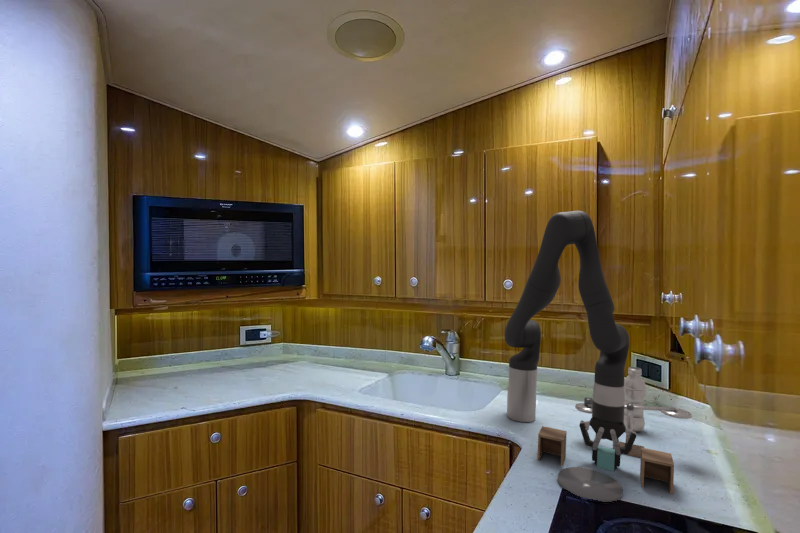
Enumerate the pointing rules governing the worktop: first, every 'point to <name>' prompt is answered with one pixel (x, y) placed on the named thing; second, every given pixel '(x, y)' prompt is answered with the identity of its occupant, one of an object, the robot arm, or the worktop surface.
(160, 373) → the worktop surface
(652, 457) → the empty cover
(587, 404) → the balance
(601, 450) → the teal block
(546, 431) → the hiding cover
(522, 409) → the robot arm
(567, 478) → the slate dish
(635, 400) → the plastic bottle
